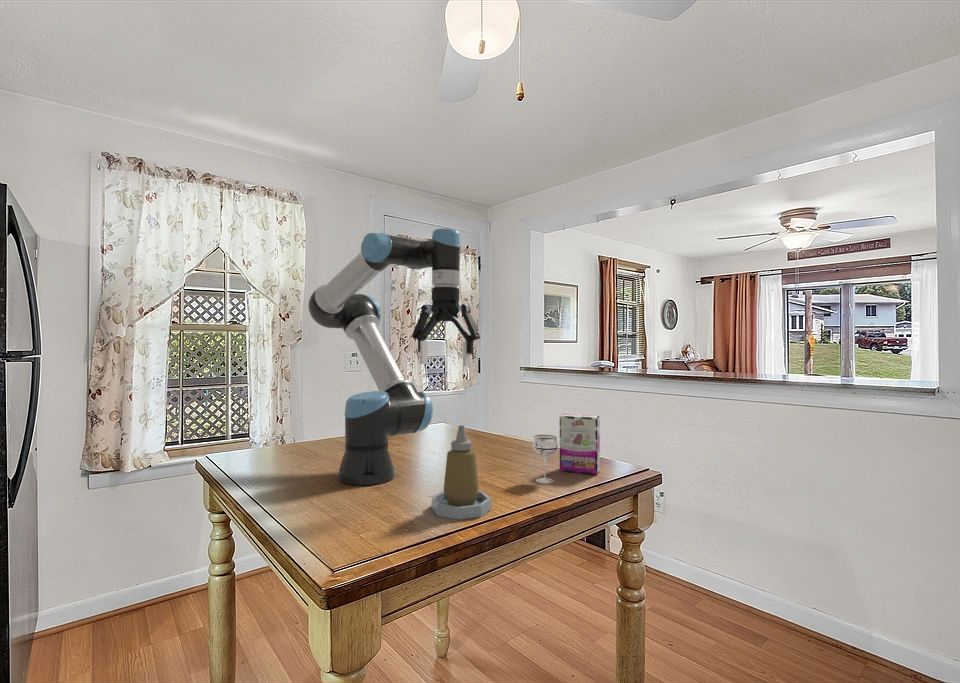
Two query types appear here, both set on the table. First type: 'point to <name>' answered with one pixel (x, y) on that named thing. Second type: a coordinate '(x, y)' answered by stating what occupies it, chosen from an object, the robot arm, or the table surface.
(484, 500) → the octagonal tray
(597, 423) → the candy bar box
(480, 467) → the table surface
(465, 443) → the squeeze bottle
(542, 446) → the wineglass
